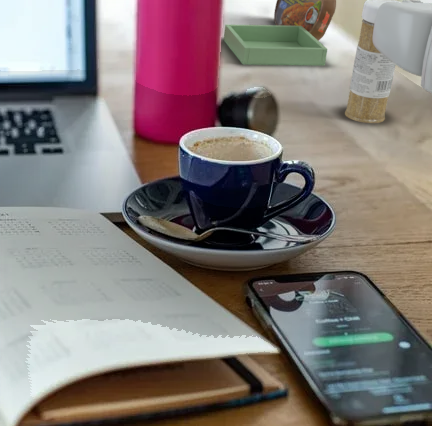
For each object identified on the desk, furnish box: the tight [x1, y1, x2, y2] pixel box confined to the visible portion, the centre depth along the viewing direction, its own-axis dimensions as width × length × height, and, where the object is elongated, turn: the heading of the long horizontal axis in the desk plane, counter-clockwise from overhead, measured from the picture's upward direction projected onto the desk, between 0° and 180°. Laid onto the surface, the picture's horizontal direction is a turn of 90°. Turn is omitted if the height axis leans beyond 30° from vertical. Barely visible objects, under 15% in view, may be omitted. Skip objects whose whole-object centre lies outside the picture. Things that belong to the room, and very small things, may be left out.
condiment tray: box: [223, 24, 328, 67], centre depth 121 cm, size 11×11×3 cm
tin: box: [273, 0, 337, 42], centre depth 129 cm, size 15×3×8 cm, turn 10°
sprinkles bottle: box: [344, 0, 401, 124], centre depth 98 cm, size 5×5×14 cm
